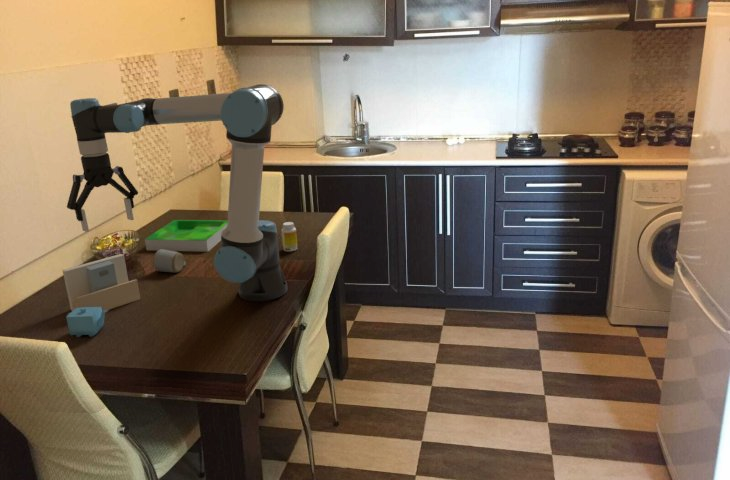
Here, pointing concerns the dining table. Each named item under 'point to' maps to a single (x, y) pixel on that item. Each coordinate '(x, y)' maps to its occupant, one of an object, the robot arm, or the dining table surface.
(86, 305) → the board
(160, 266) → the grey cylinder
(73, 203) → the robot arm
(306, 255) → the dining table surface
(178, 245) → the tray
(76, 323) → the light blue rounded block
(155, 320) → the dining table surface
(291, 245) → the supplement bottle
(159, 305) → the dining table surface
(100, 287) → the grey block
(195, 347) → the dining table surface
